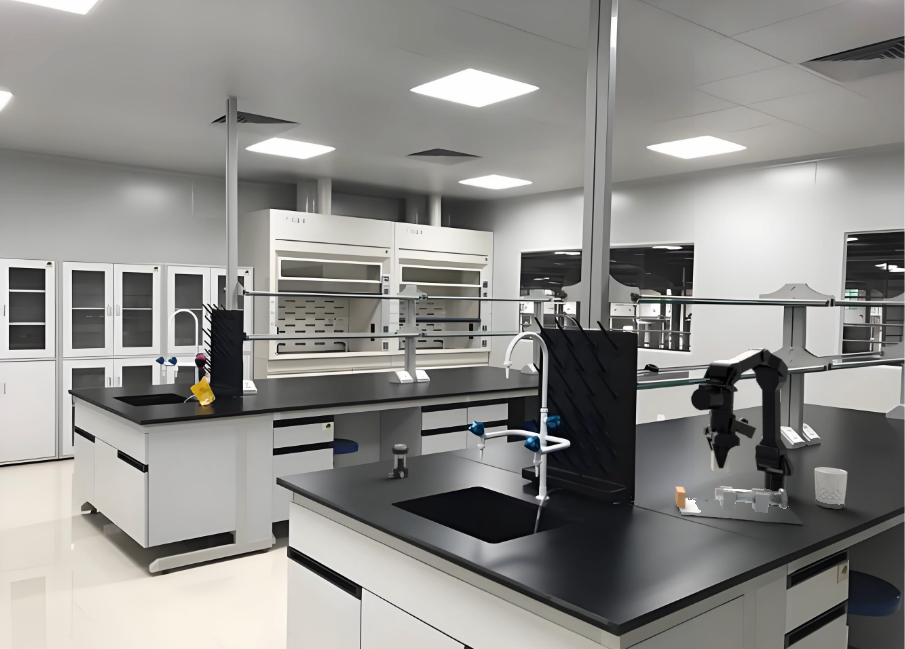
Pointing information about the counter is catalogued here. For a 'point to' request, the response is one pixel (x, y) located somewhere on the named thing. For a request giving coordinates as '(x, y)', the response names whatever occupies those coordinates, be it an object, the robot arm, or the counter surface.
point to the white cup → (830, 485)
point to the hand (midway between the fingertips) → (719, 466)
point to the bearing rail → (721, 501)
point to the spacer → (715, 466)
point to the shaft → (750, 495)
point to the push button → (399, 461)
